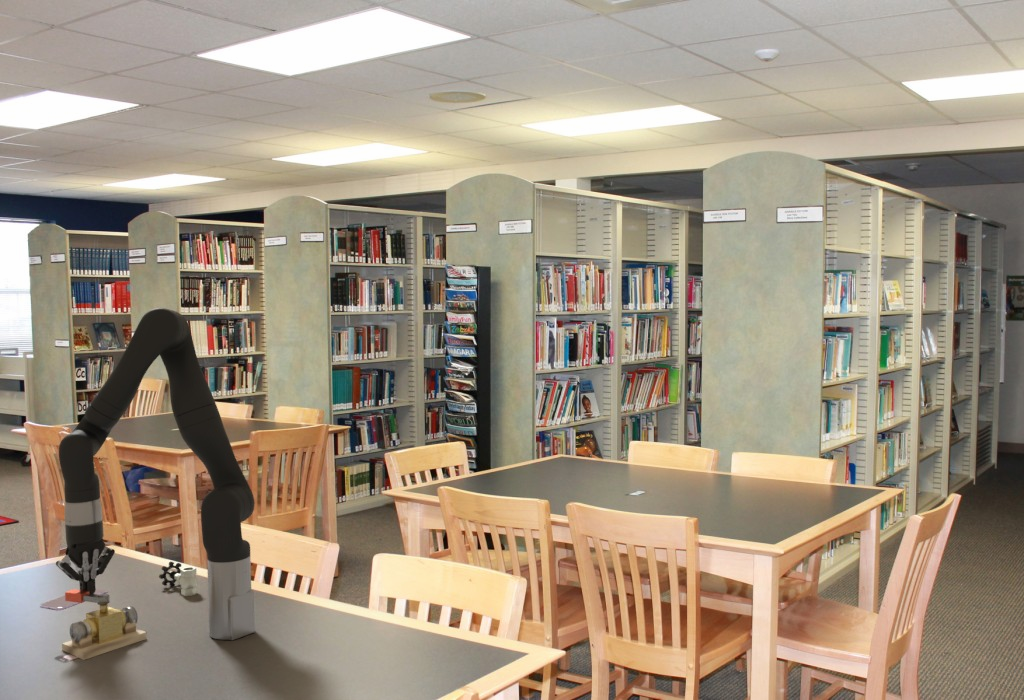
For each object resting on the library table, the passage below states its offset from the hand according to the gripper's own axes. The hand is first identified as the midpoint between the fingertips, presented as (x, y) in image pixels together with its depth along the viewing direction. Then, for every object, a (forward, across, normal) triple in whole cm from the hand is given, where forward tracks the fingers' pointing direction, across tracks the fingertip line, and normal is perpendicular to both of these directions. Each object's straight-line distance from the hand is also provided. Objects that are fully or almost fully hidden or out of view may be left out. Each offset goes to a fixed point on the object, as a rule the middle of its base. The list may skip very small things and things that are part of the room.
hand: (88, 595), depth 196 cm
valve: (+10, +30, +10) cm, 34 cm away
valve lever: (0, -2, -4) cm, 4 cm away
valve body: (+7, -1, -8) cm, 11 cm away
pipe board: (+9, -1, -8) cm, 12 cm away
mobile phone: (+10, +12, +27) cm, 31 cm away
